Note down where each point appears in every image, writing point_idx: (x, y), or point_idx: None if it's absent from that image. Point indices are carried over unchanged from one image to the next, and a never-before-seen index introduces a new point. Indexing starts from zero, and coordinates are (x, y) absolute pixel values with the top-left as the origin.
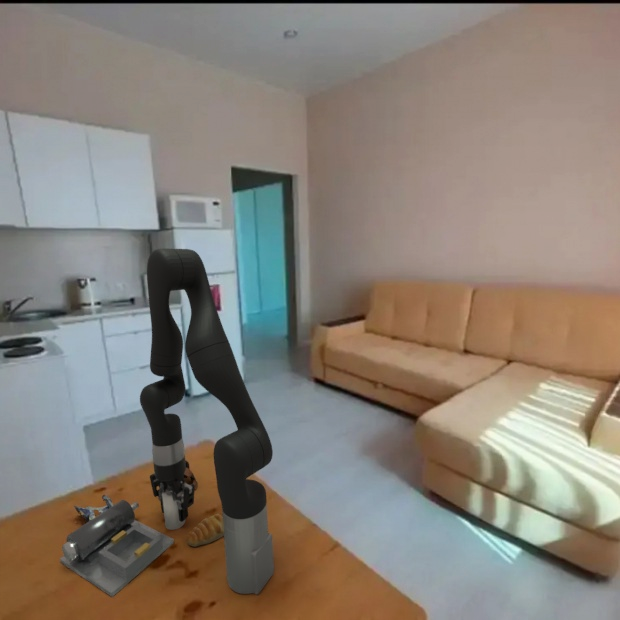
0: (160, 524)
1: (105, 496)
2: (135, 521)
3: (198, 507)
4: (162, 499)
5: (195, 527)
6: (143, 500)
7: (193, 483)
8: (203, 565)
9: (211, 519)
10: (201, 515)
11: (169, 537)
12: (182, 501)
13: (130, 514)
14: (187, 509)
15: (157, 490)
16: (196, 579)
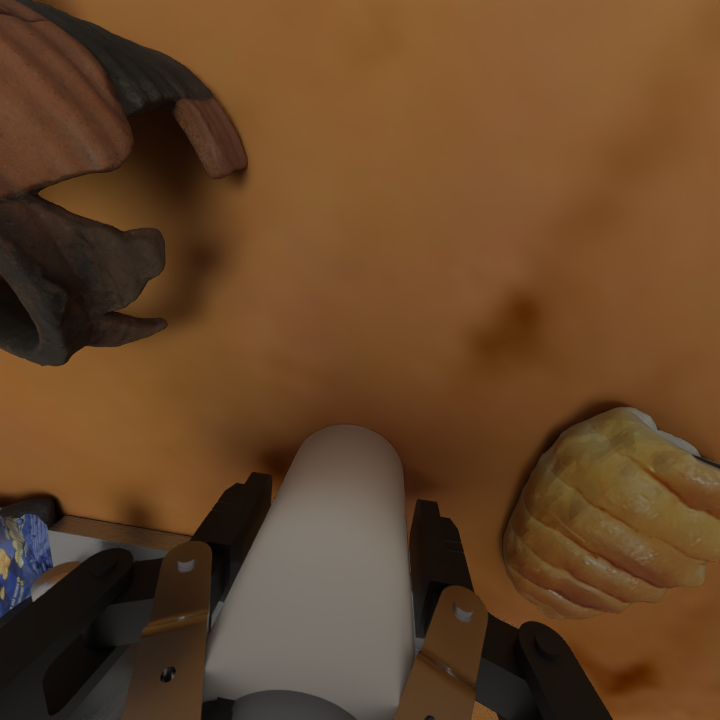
0: None
1: None
2: (153, 552)
3: (397, 327)
4: (212, 613)
5: (556, 573)
6: (23, 383)
7: (202, 147)
8: (661, 643)
9: (665, 528)
10: (464, 384)
11: (411, 595)
12: (411, 605)
13: (125, 697)
14: (469, 577)
15: (86, 632)
16: (661, 694)
